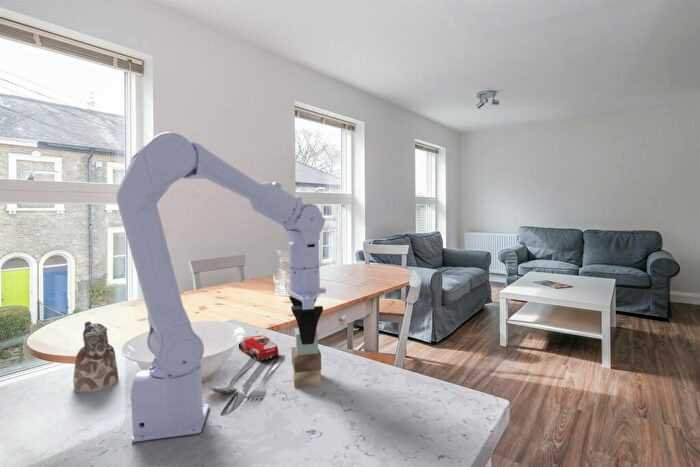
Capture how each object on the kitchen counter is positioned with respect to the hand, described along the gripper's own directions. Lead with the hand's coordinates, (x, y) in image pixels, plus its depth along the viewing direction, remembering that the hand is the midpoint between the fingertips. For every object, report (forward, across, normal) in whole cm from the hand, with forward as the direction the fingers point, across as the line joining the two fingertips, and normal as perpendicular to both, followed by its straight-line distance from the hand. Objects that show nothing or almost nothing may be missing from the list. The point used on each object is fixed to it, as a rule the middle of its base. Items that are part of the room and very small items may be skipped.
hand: (306, 336), depth 72 cm
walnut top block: (+6, 0, 0) cm, 6 cm away
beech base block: (+9, 0, 0) cm, 9 cm away
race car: (+9, +17, +10) cm, 22 cm away
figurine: (+9, +8, +40) cm, 42 cm away
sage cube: (+3, 0, 0) cm, 3 cm away
